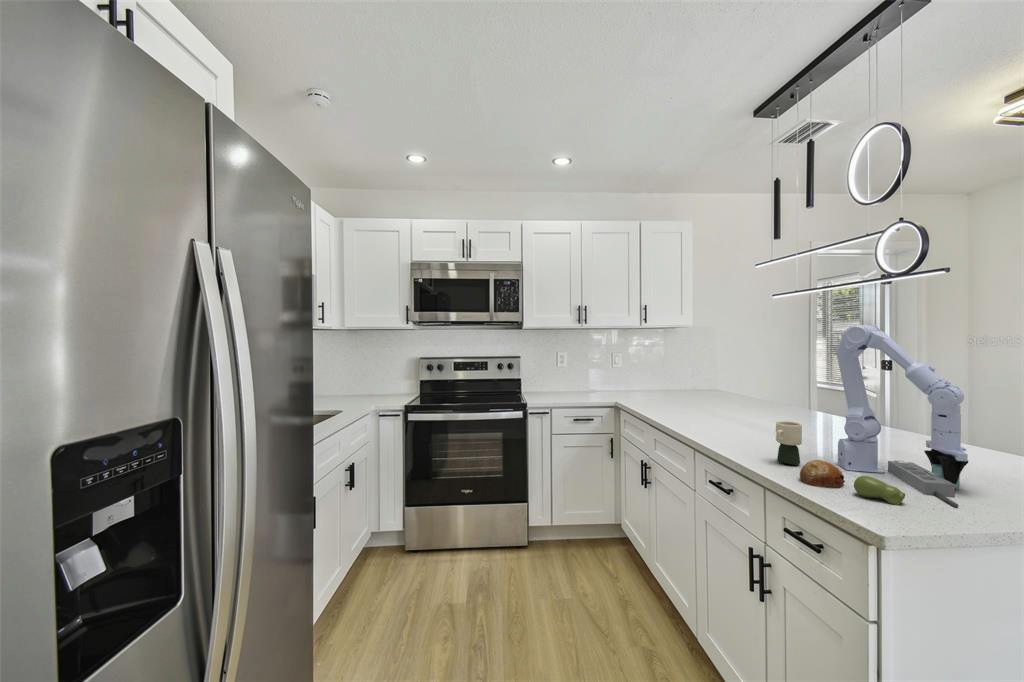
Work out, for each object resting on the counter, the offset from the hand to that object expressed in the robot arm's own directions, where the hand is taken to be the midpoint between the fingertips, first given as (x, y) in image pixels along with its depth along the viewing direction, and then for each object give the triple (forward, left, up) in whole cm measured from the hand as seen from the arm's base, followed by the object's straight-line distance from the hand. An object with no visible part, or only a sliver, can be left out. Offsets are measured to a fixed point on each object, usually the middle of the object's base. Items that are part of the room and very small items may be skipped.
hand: (945, 480), depth 120 cm
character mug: (-34, +11, -2) cm, 36 cm away
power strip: (-5, -3, -2) cm, 6 cm away
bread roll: (-30, -6, -2) cm, 31 cm away
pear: (-21, -16, -2) cm, 27 cm away
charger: (0, 0, -2) cm, 2 cm away
